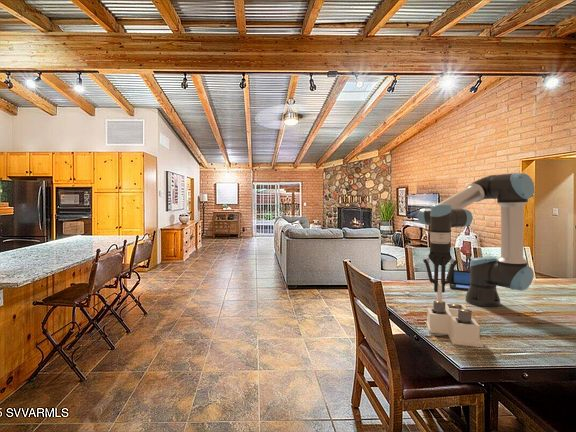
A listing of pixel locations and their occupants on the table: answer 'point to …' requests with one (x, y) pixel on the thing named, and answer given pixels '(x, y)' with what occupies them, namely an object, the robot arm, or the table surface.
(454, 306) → the knob
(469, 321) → the knob
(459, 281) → the handheld game console
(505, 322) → the table surface
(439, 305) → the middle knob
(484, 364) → the table surface
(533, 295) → the table surface
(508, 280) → the robot arm
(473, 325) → the knob panel
